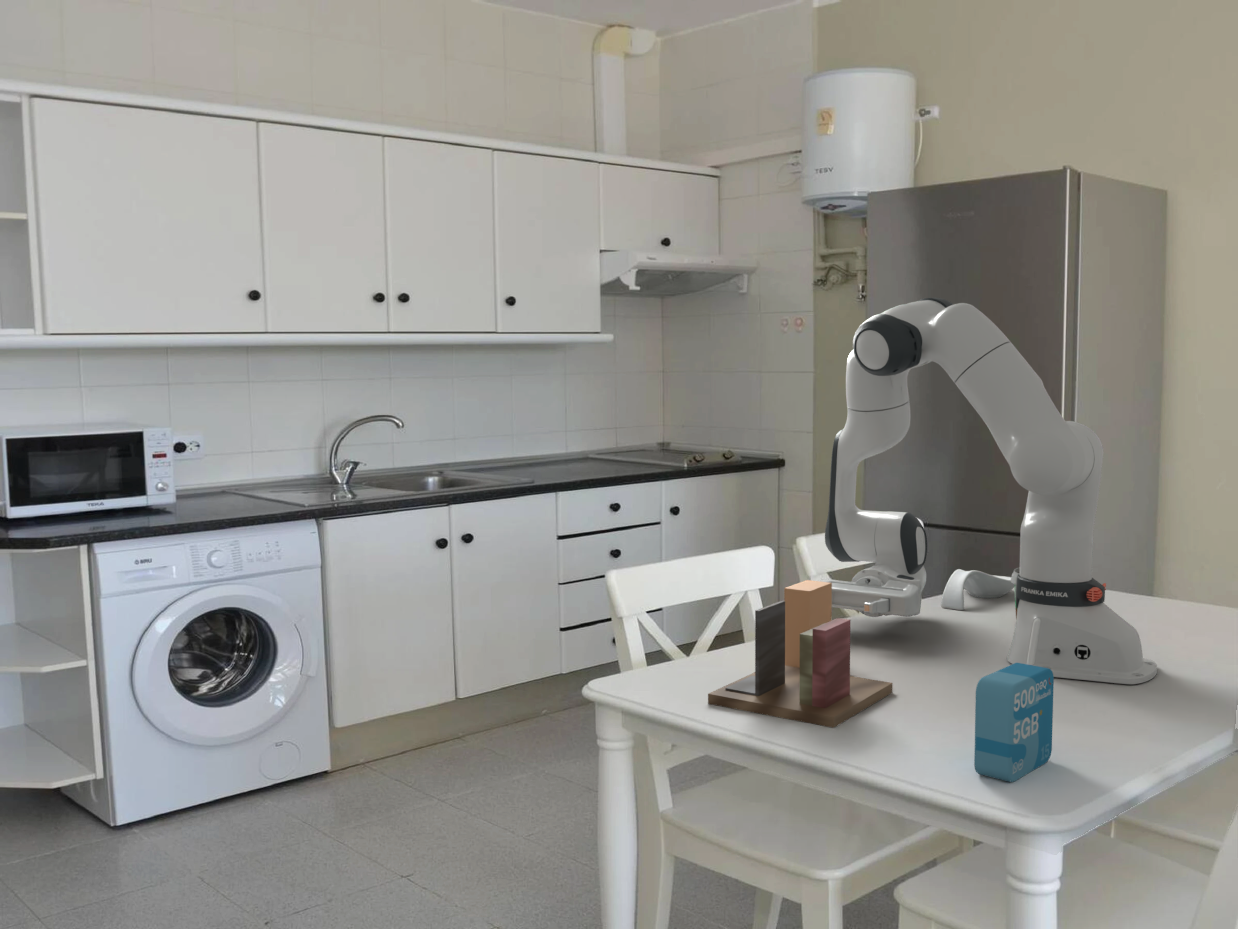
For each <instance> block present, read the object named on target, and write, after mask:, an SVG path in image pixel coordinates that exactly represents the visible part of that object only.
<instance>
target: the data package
mask: <svg viewBox="0 0 1238 929" xmlns="http://www.w3.org/2000/svg"><path fill="white" fill-rule="evenodd" d="M1054 678H1055V677H1054V676H1053V672H1052V670H1051V669H1049V668H1044V667H1038V666H1033V665H1028V664H1022V663H1014V664H1012V663H1011V664H1010V665H1007V666H1005V667H1002V668H1001V669H998V670H996V671H994V672H992V673H989V674H987V675H985V676H982V677H981V678H980V679H979V680H978V682H977V684H976V688H975V705H974V706H975V708H974V709H975V711H974V712H975V714H974V715H975V716H974V717H975V718H974V755H973V756H974V762H973V763H974V764H973V765H974V770H975V772H976V774H978V775H981V776H985V777H989V778H993V779H997V780H1000V781H1005V782H1008V783H1014V782H1016V781H1018V780H1020V779H1021V778H1024V777H1025V776H1026V775H1027V774H1029V773H1031V772H1033V771H1034V770H1036V769H1038V768H1040V767H1041V766H1043V765H1044V764H1046V763H1047V762H1048V761H1049V759H1050V758H1051V755H1052V750H1053V720H1054V719H1053V717H1054V716H1053V714H1054V682H1055V681H1054Z"/></svg>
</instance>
